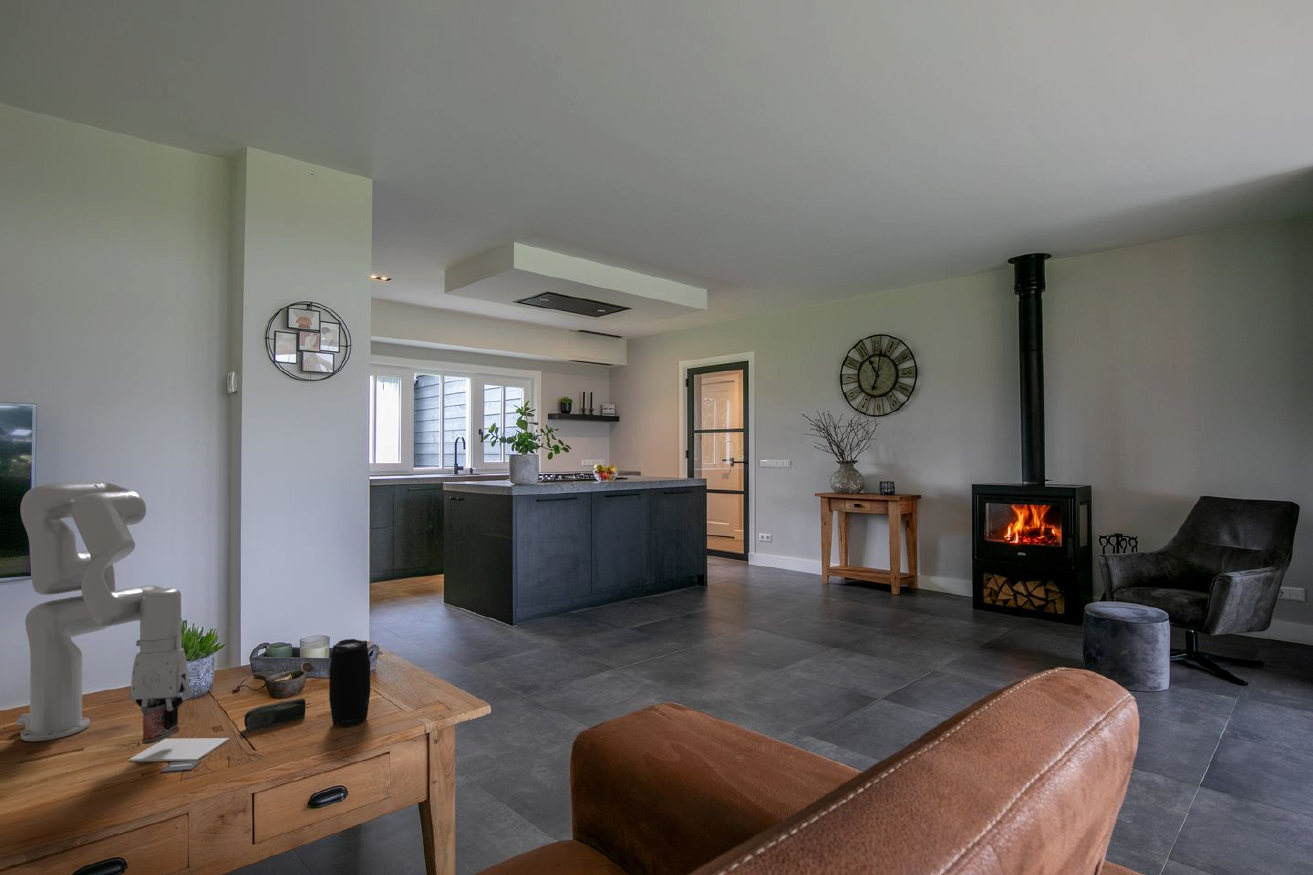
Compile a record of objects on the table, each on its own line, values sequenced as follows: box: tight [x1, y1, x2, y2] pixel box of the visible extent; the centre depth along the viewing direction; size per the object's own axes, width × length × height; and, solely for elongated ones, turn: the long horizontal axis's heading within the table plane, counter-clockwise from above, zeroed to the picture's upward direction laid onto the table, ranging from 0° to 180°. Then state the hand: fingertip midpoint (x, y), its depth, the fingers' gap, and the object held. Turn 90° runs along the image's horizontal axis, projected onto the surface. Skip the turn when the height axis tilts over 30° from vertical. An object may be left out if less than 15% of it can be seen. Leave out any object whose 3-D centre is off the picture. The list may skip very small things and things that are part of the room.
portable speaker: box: [328, 638, 371, 729], centre depth 171 cm, size 9×9×20 cm
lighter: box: [141, 698, 180, 745], centre depth 154 cm, size 8×3×10 cm, turn 168°
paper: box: [128, 737, 230, 762], centre depth 155 cm, size 15×11×1 cm
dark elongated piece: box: [239, 698, 306, 735], centre depth 170 cm, size 5×3×15 cm
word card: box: [159, 760, 202, 774], centre depth 147 cm, size 6×4×1 cm, turn 100°
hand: (161, 726), depth 154 cm, fingers closed on lighter, 3 cm apart
